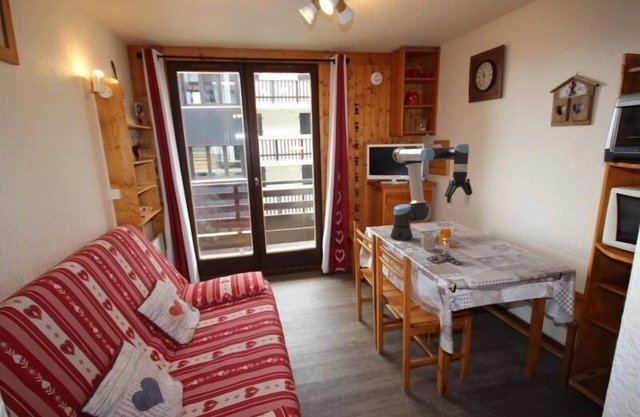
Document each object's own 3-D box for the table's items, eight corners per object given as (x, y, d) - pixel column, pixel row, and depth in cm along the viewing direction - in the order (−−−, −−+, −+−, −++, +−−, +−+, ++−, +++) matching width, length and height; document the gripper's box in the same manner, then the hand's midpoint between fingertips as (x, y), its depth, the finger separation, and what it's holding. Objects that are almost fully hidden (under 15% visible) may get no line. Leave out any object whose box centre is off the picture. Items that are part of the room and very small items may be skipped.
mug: (415, 248, 205) (415, 233, 203) (425, 246, 208) (426, 231, 206) (427, 254, 195) (428, 238, 193) (438, 251, 198) (439, 236, 196)
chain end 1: (445, 255, 189) (445, 252, 188) (454, 259, 183) (455, 255, 182) (425, 259, 182) (425, 256, 182) (434, 264, 176) (434, 260, 176)
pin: (440, 259, 186) (441, 238, 183) (445, 258, 187) (446, 237, 184) (445, 261, 182) (446, 240, 179) (450, 260, 184) (452, 239, 181)
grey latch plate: (436, 259, 186) (436, 256, 186) (445, 257, 189) (445, 254, 189) (456, 268, 173) (456, 264, 173) (465, 265, 176) (466, 262, 176)
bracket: (456, 248, 202) (457, 230, 200) (444, 249, 202) (446, 231, 199) (448, 243, 213) (449, 226, 210) (437, 244, 213) (438, 226, 210)
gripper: (449, 173, 176) (447, 210, 181) (480, 170, 187) (477, 205, 191) (439, 172, 183) (437, 208, 188) (470, 169, 193) (467, 203, 198)
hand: (457, 207), depth 189 cm, fingers open, 13 cm apart
